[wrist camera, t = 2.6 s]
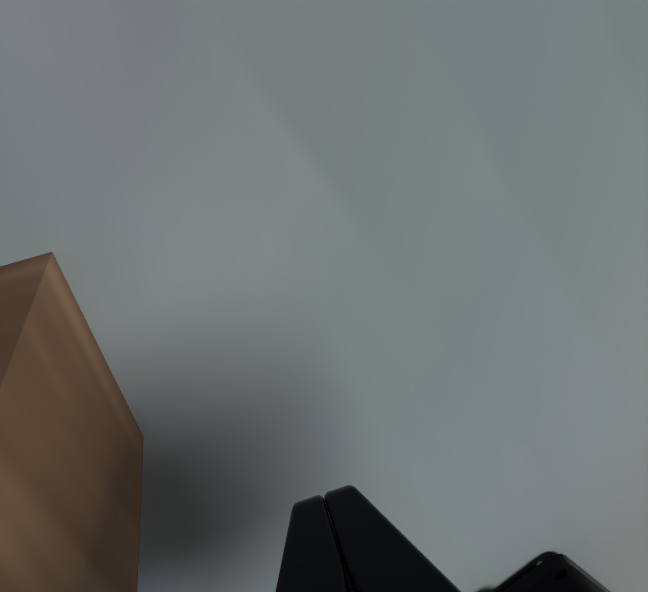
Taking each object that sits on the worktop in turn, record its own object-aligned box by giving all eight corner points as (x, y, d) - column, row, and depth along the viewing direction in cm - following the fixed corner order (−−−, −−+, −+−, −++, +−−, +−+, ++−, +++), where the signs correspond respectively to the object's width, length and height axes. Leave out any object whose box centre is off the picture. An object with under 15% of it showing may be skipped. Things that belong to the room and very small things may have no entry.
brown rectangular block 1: (52, 251, 12) (-223, 972, 3) (143, 437, 15) (115, 1119, 6) (-31, 275, 12) (-532, 1091, 3) (76, 458, 14) (-50, 1188, 6)
